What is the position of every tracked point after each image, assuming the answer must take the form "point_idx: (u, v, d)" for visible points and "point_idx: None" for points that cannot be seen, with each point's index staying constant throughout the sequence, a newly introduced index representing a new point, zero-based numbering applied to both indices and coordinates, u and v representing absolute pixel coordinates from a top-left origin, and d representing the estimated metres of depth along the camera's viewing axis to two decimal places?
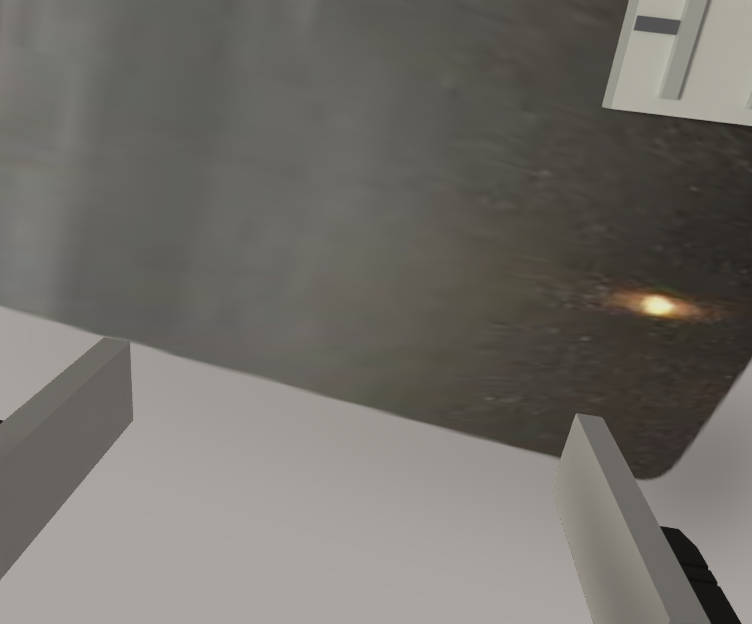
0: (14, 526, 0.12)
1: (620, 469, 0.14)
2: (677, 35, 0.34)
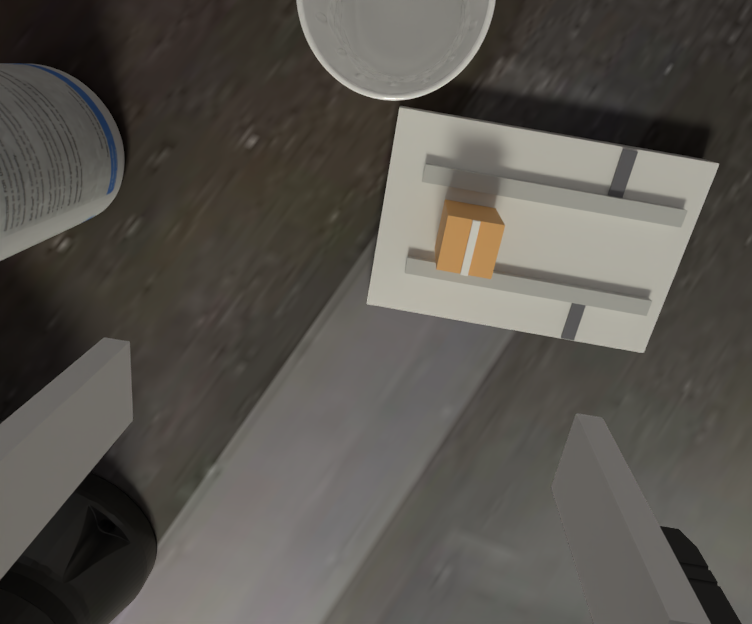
0: (14, 526, 0.12)
1: (620, 469, 0.14)
2: None
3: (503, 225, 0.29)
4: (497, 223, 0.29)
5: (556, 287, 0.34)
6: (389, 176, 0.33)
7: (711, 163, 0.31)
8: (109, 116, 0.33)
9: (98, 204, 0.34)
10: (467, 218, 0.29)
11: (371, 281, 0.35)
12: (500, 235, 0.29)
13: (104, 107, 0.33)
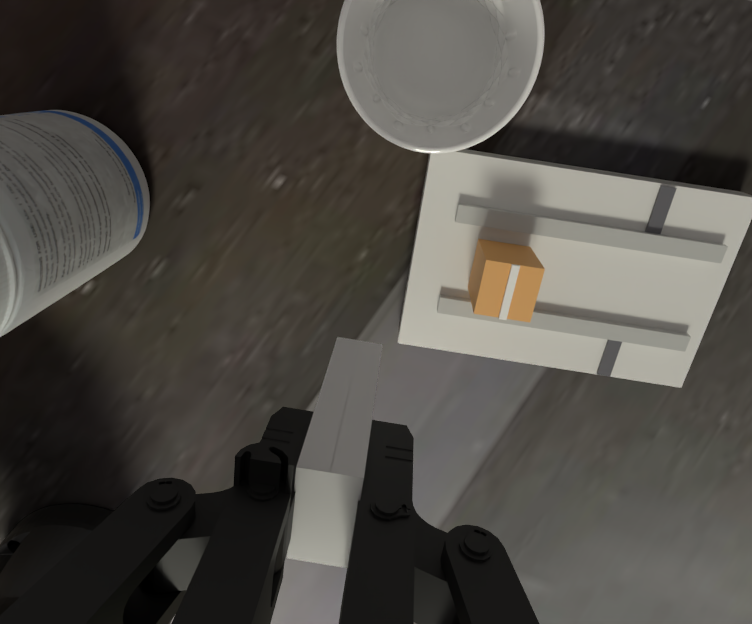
0: None
1: (368, 379, 0.16)
2: None
3: (543, 269, 0.28)
4: (536, 267, 0.28)
5: (593, 324, 0.33)
6: (421, 216, 0.32)
7: (751, 198, 0.30)
8: (134, 160, 0.33)
9: (125, 249, 0.33)
10: (506, 262, 0.28)
11: (402, 320, 0.35)
12: (540, 279, 0.28)
13: (129, 151, 0.33)
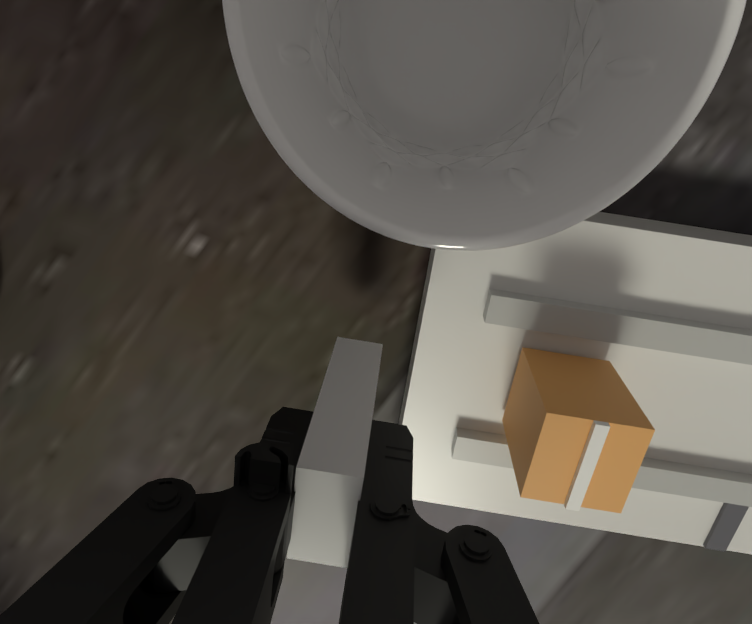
0: None
1: (368, 379, 0.16)
2: None
3: (651, 429, 0.15)
4: (639, 424, 0.15)
5: (707, 481, 0.20)
6: (426, 309, 0.19)
7: None
8: None
9: None
10: (582, 415, 0.15)
11: None
12: (644, 446, 0.15)
13: None
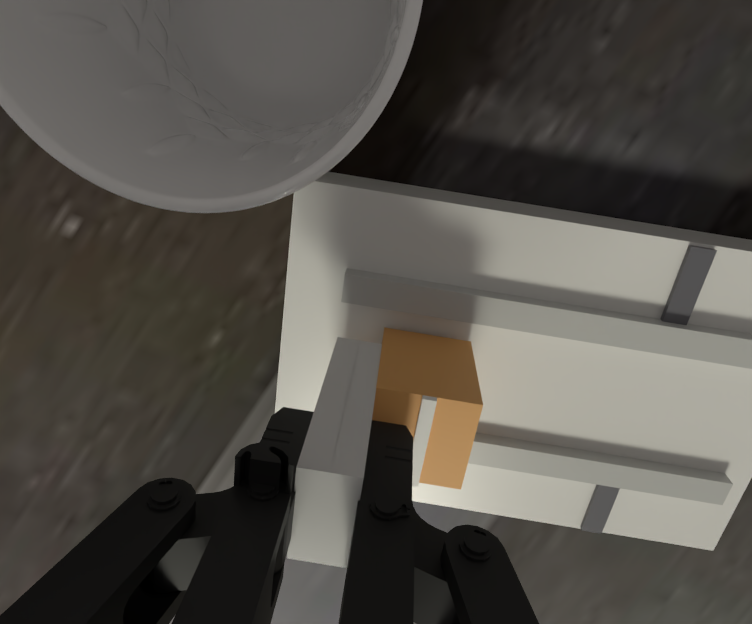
0: None
1: (368, 379, 0.16)
2: None
3: (479, 404, 0.15)
4: (468, 399, 0.16)
5: (573, 463, 0.20)
6: (288, 289, 0.19)
7: None
8: None
9: None
10: (413, 390, 0.16)
11: None
12: (474, 421, 0.16)
13: None
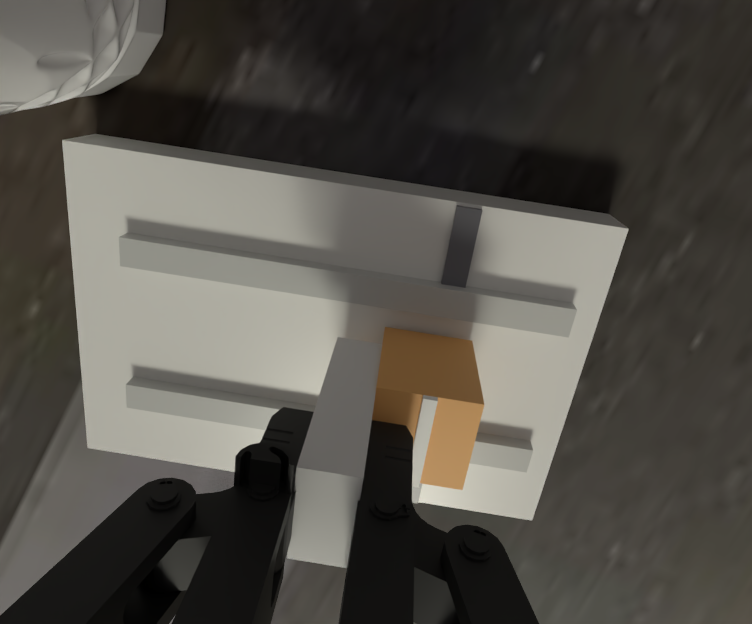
0: None
1: (368, 379, 0.16)
2: None
3: (481, 404, 0.15)
4: (470, 399, 0.15)
5: None
6: (74, 255, 0.19)
7: (614, 228, 0.17)
8: None
9: None
10: (413, 390, 0.15)
11: (86, 415, 0.22)
12: (476, 421, 0.15)
13: None
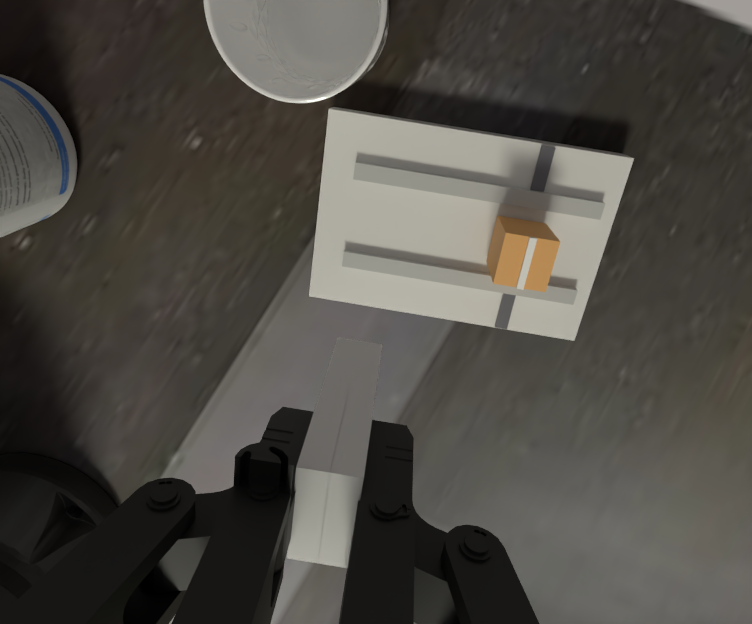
0: None
1: (368, 379, 0.16)
2: None
3: (558, 241, 0.30)
4: (552, 239, 0.31)
5: (486, 278, 0.35)
6: (323, 174, 0.34)
7: (626, 158, 0.32)
8: (60, 120, 0.35)
9: (51, 204, 0.36)
10: (524, 235, 0.31)
11: (312, 274, 0.37)
12: (555, 251, 0.31)
13: (55, 112, 0.35)
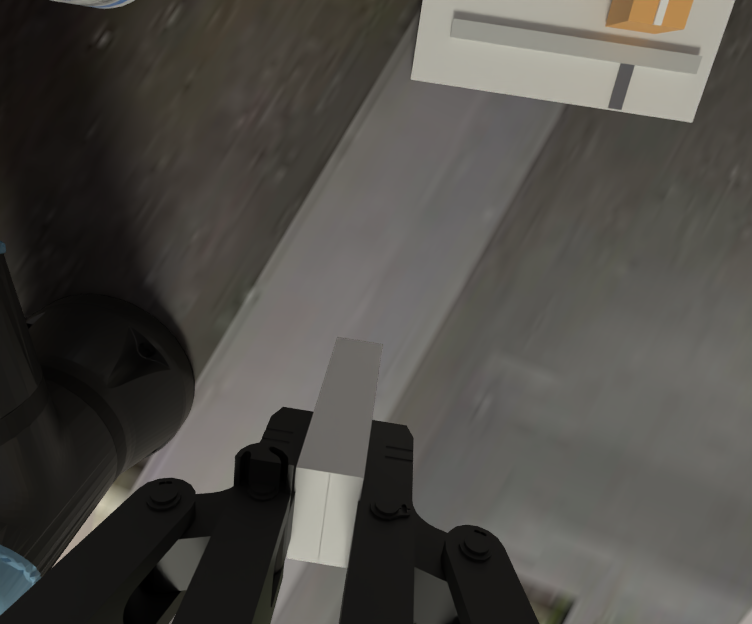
0: None
1: (368, 379, 0.16)
2: (636, 65, 0.34)
3: None
4: None
5: (604, 45, 0.33)
6: None
7: None
8: None
9: None
10: None
11: (415, 52, 0.35)
12: None
13: None
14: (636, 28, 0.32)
